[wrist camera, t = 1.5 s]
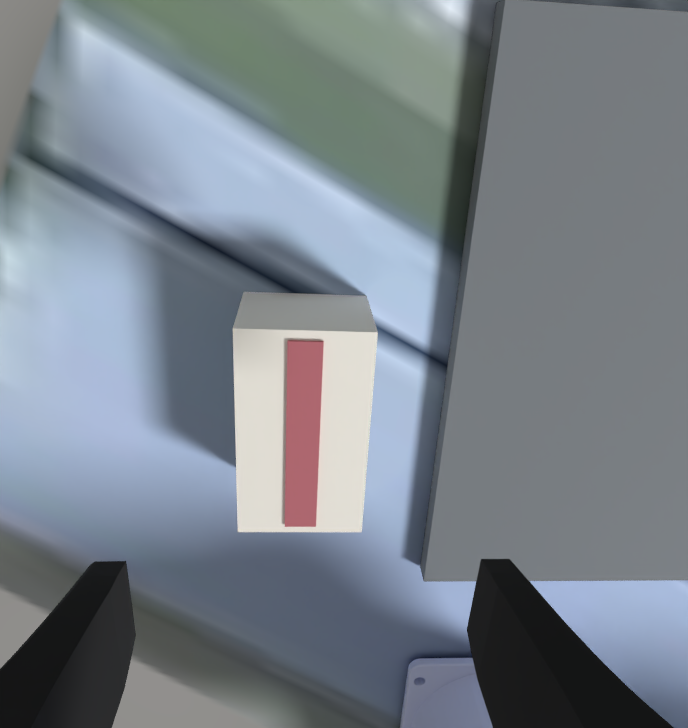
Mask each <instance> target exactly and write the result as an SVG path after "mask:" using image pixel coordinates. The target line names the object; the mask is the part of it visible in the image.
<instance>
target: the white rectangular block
mask: <svg viewBox="0 0 688 728" xmlns="http://www.w3.org/2000/svg"><path fill="white" fill-rule="evenodd" d="M377 335H378V332H377V328H376V325H375V322H374V319H373V315H372V312H371V309H370V306H369V302H368V299H367V296H362V295H331V294H300V293H268V292H243V295H242V299H241V302H240V305H239V309H238V312H237V316H236V319H235V322H234V326H233V361H234V401H235V442H236V482H237V522H238V532H362V521H363V508H364V496H365V484H366V471H367V459H368V446H369V434H370V422H371V409H372V397H373V385H374V372H375V360H376V348H377Z"/></svg>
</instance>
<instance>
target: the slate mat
mask: <svg viewBox="0 0 688 728" xmlns="http://www.w3.org/2000/svg"><path fill="white" fill-rule="evenodd" d="M481 559H510V560H511V561H512V562H513V563H514V564H515V565H516V567H517V568H518V569H519V570H520V571H521V572H522V574H523V575H524V576H525V577H526V578H527V579H528V581H618V580H688V12H684V11H670V10H656V9H642V8H628V7H614V6H600V5H586V4H572V3H558V2H544V1H530V0H502V1H499V2H497V4H496V11H495V19H494V26H493V33H492V41H491V48H490V55H489V63H488V70H487V78H486V85H485V92H484V100H483V107H482V115H481V122H480V129H479V137H478V144H477V152H476V159H475V166H474V174H473V181H472V188H471V196H470V203H469V211H468V218H467V225H466V233H465V240H464V248H463V255H462V262H461V270H460V277H459V285H458V292H457V299H456V307H455V314H454V321H453V329H452V336H451V344H450V351H449V358H448V366H447V373H446V381H445V388H444V395H443V403H442V410H441V418H440V425H439V432H438V440H437V447H436V454H435V462H434V469H433V477H432V484H431V491H430V499H429V506H428V514H427V521H426V528H425V536H424V543H423V551H422V558H421V565H420V568H421V572H422V576H423V580H424V581H477V576H478V571H479V566H480V561H481Z"/></svg>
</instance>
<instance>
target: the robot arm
mask: <svg viewBox="0 0 688 728" xmlns="http://www.w3.org/2000/svg"><path fill="white" fill-rule="evenodd" d="M467 633H468V638H469V643H470V648H471V653H472V658H420V659H415V660H413V661H412V662H411V663H410V664H409V666H408V673H407V680H406V687H405V695H404V702H403V709H402V717H401V724H400V728H673V727H672V726H671V725H670V724H669V723H668V722H667V721H665V720H664V719H663V718H662V717H661V716H660V715H658V714H657V713H656V712H655V711H654V710H653V709H652V708H650V707H649V706H648V705H647V704H646V703H645V702H643V701H642V700H641V699H640V698H639V697H638V696H637V695H636V694H635V693H634V692H633V691H632V690H630V689H629V688H628V687H627V686H626V685H625V684H624V683H623V682H622V681H621V680H620V679H619V678H618V677H617V676H616V675H615V674H614V673H613V672H612V671H611V670H610V669H609V668H608V667H607V666H606V665H605V664H604V663H603V662H602V661H601V660H600V659H599V658H598V657H597V656H596V655H595V654H594V653H593V652H592V651H591V650H590V649H589V648H588V647H587V646H586V644H585V643H584V642H583V641H582V640H581V639H580V638H579V637H578V636H577V635H576V634H575V633H574V632H573V630H572V629H571V628H570V627H569V626H568V625H567V624H566V623H565V622H564V621H563V620H562V618H561V617H560V616H559V615H558V614H557V613H556V612H555V611H554V609H553V608H552V607H551V606H550V605H549V604H548V603H547V601H546V600H545V599H544V598H543V597H542V596H541V595H540V593H539V592H538V591H537V590H536V589H535V588H534V586H533V585H532V584H531V583H530V582H529V581H528V579H527V578H526V577H525V576H524V575H523V574H522V572H521V571H520V570H519V569H518V568H517V567H516V565H515V564H514V563H513V562H512V561H511V560H510V559H481V561H480V566H479V571H478V576H477V581H476V586H475V591H474V597H473V602H472V607H471V612H470V617H469V622H468V627H467ZM135 636H136V634H135V627H134V619H133V611H132V603H131V595H130V588H129V580H128V572H127V564H126V561H113V562H94V563H92V564H91V565H90V566H89V567H88V568H87V570H86V571H85V572H84V573H83V575H82V576H81V577H80V578H79V580H78V581H77V582H76V583H75V584H74V586H73V587H72V588H71V589H70V591H69V592H68V593H67V594H66V595H65V597H64V598H63V599H62V600H61V601H60V603H59V604H58V605H57V606H56V607H55V609H54V610H53V611H52V612H51V613H50V614H49V616H48V617H47V618H46V619H45V620H44V622H43V623H42V624H41V625H40V626H39V627H38V628H37V629H36V630H35V632H34V633H33V634H32V635H31V636H30V637H29V638H28V640H27V641H26V642H25V643H24V644H23V645H22V646H21V647H20V648H19V650H18V651H17V652H16V653H15V654H14V655H13V656H12V657H11V658H10V659H9V660H8V661H7V662H6V663H5V665H4V666H3V667H2V668H1V669H0V728H112V725H113V722H114V718H115V716H116V713H117V710H118V707H119V704H120V700H121V697H122V694H123V691H124V688H125V683H126V679H127V674H128V670H129V665H130V660H131V656H132V651H133V646H134V641H135Z"/></svg>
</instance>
